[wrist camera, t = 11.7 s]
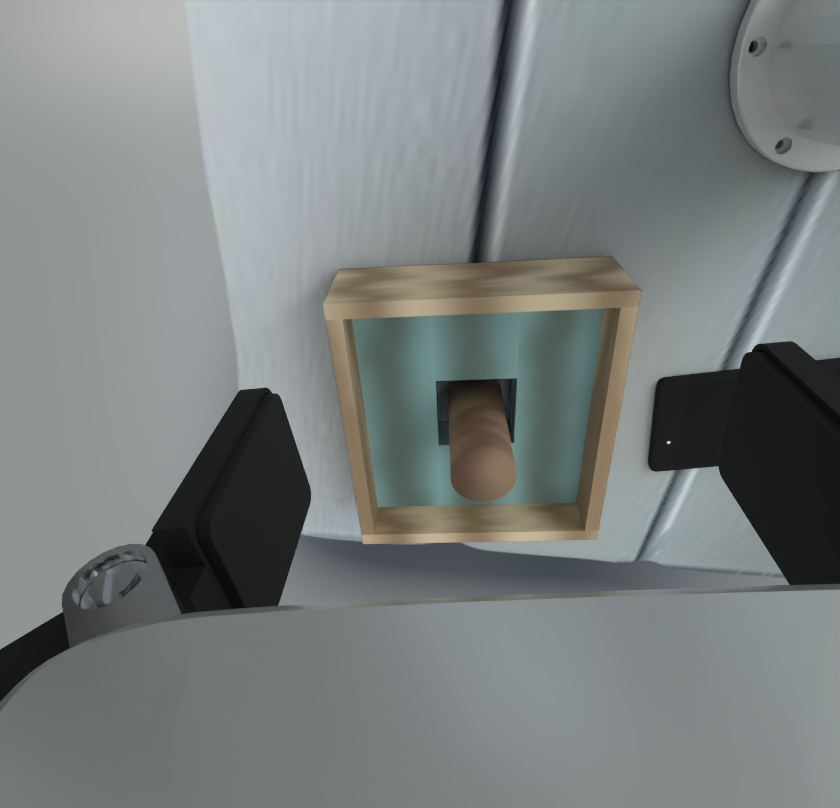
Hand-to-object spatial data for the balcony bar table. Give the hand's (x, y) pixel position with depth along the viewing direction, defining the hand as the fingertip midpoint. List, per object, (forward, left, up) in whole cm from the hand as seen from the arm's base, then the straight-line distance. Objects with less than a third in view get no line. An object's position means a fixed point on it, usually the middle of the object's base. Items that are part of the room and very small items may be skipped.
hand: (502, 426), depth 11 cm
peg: (-1, +15, -25) cm, 29 cm away
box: (-1, +15, -25) cm, 29 cm away
